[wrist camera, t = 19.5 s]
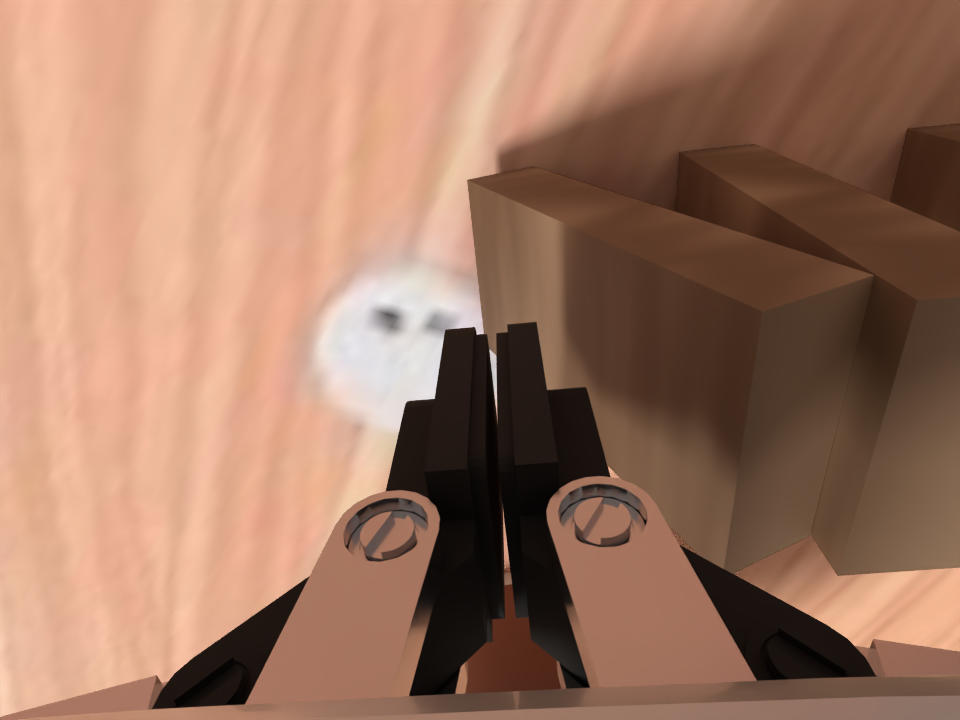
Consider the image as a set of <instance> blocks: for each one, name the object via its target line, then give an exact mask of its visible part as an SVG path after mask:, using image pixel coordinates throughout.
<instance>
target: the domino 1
mask: <svg viewBox="0 0 960 720" xmlns="http://www.w3.org/2000/svg"><path fill="white" fill-rule="evenodd" d="M467 182H468V191H469V200H470V210H471V219H472V228H473V237H474V246H475V255H476V264H477V274H478V283H479V292H480V301H481V310H482V319H483V328H484V334H487V336H488V344H489V349H490V350H491V351H493V352H494V353H495V354H496V355H497V353H496V333H503V332H508V330H507V324H517V323H528V322H537V328H538V334H539V341H540V347H541V354H542V360H543V366H544V373H545V379H546V386H547V390H553V389H565V388H578V387H586V388H587V391H588V394H589V398H590V402H591V406H592V409H593V413H594V417H595V421H596V424H597V428H598V432H599V436H600V440H601V443H602V447H603V451H604V455H605V458H606V462H607V465H608V466H609V467H610V468H611V469H612V470H613V471H614V472H615V473H616V474H617V475H618V476H619V477H620V478H621V479H622V480H624V481H627V482H630V483H632V484H635V485H636V486H638V487H639V488H641V489H642V490H644V491H645V492H647V494H648V495H649V496H650V497H651V498H652V500H653V501H654V502H655V503H656V505H657V506H658V508H659V510H660V512H661V513H662V515H663V517H664V519H665V520H666V522H667V524H668V526H669V527H670V528H671V529H672V530H673V531H674V532H675V533H676V534H677V535H678V536H680V537H681V538H682V539H683V540H684V541H685V542H686V543H687V544H688V545H689V546H690V547H691V548H692V549H693V550H694V551H695V552H696V553H697V554H698V555H699V556H701V557H703V558H704V559H706V560H708V561H710V562H712V563H714V564H716V565H717V566H719V567H721V568H723V569H725V570H727V571H728V572H730V573H732V574H733V573H735V572H737V571H739V570H741V569H743V568H745V567H747V566H749V565H751V564H753V563H755V562H758V561H760V560H762V559H764V558H766V557H768V556H770V555H772V554H774V553H776V552H778V551H780V550H782V549H784V548H786V547H788V546H790V545H792V544H794V543H796V542H798V541H800V540H802V539H804V538H806V537H808V536H810V534H811V530H812V526H813V522H814V518H815V514H816V510H817V506H818V502H819V498H820V494H821V490H822V486H823V482H824V478H825V473H826V469H827V465H828V461H829V457H830V453H831V449H832V445H833V441H834V437H835V433H836V429H837V425H838V421H839V417H840V413H841V408H842V404H843V400H844V396H845V392H846V388H847V384H848V380H849V376H850V372H851V368H852V364H853V360H854V356H855V352H856V348H857V343H858V339H859V335H860V331H861V327H862V323H863V319H864V315H865V311H866V307H867V303H868V299H869V295H870V291H871V287H872V283H873V278H874V275H872V274H869V273H866V272H863V271H860V270H857V269H854V268H850V267H847V266H844V265H841V264H838V263H835V262H832V261H828V260H825V259H822V258H819V257H816V256H813V255H810V254H806V253H803V252H800V251H797V250H794V249H791V248H788V247H784V246H781V245H778V244H775V243H772V242H769V241H766V240H762V239H759V238H756V237H753V236H750V235H747V234H744V233H740V232H737V231H734V230H731V229H728V228H725V227H722V226H718V225H715V224H712V223H709V222H706V221H703V220H700V219H696V218H693V217H690V216H687V215H684V214H681V213H678V212H674V211H671V210H668V209H665V208H662V207H659V206H656V205H653V204H649V203H646V202H643V201H640V200H637V199H634V198H631V197H627V196H624V195H621V194H618V193H615V192H612V191H609V190H605V189H602V188H599V187H596V186H593V185H590V184H587V183H583V182H580V181H577V180H574V179H571V178H568V177H565V176H561V175H558V174H555V173H552V172H549V171H546V170H543V169H539V168H536V167H529V168H524V169H519V170H514V171H509V172H504V173H499V174H494V175H489V176H484V177H479V178H474V179H469V180H467Z"/></svg>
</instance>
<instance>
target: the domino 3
mask: <svg viewBox="0 0 960 720" xmlns="http://www.w3.org/2000/svg"><path fill="white" fill-rule="evenodd" d="M890 202H891V203H893V204H896V205H898V206H900V207H903V208H905V209H908V210H910V211H912V212H915V213H917V214H919V215H922V216H924V217H926V218H929V219H931V220H933V221H936V222H938V223H940V224H943V225H945V226H947V227H950V228H952V229H955V230H957V231H959V232H960V124H951V125H941V126H931V127H921V128H911V129H908V131H907V135H906V139H905V143H904V147H903V151H902V156H901V160H900V164H899V168H898V172H897V176H896V180H895V184H894V189H893V193H892V197H891V201H890Z"/></svg>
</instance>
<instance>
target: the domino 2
mask: <svg viewBox="0 0 960 720" xmlns="http://www.w3.org/2000/svg"><path fill="white" fill-rule="evenodd" d="M676 212H678V213H681V214H684V215H687V216H690V217H693V218H696V219H700V220H703V221H706V222H709V223H712V224H715V225H718V226H722V227H725V228H728V229H731V230H734V231H737V232H740V233H744V234H747V235H750V236H753V237H756V238H759V239H762V240H766V241H769V242H772V243H775V244H778V245H781V246H784V247H788V248H791V249H794V250H797V251H800V252H803V253H806V254H810V255H813V256H816V257H819V258H822V259H825V260H828V261H832V262H835V263H838V264H841V265H844V266H847V267H850V268H854V269H857V270H860V271H863V272H866V273H869V274H872V275H874V278H873V283H872V287H871V291H870V295H869V299H868V303H867V307H866V311H865V315H864V319H863V323H862V327H861V331H860V335H859V339H858V343H857V348H856V352H855V356H854V360H853V364H852V368H851V372H850V376H849V380H848V384H847V388H846V392H845V396H844V400H843V404H842V408H841V413H840V417H839V421H838V425H837V429H836V433H835V437H834V441H833V445H832V449H831V453H830V457H829V461H828V465H827V469H826V473H825V478H824V482H823V486H822V490H821V494H820V498H819V502H818V506H817V510H816V514H815V518H814V522H813V526H812V530H811V536H812V537H813V539H814V540H815V542H816V543H817V545H818V546H819V548H820V549H821V551H822V552H823V554H824V556H825V557H826V559H827V560H828V562H829V563H830V565H831V566H832V568H833V569H834V571H835V572H836V574H837V575H838V576H840V575H855V574H870V573H885V572H899V571H914V570H929V569H944V568H959V567H960V232H959V231H957V230H955V229H952V228H950V227H947V226H945V225H943V224H940V223H938V222H936V221H933V220H931V219H929V218H926V217H924V216H922V215H919V214H917V213H915V212H912V211H910V210H908V209H905V208H903V207H900V206H898V205H896V204H893V203H891V202H889V201H886V200H884V199H882V198H879V197H877V196H875V195H872V194H870V193H868V192H865V191H863V190H861V189H858V188H856V187H854V186H851V185H849V184H846V183H844V182H842V181H839V180H837V179H835V178H832V177H830V176H828V175H825V174H823V173H821V172H818V171H816V170H814V169H811V168H809V167H807V166H804V165H802V164H799V163H797V162H795V161H792V160H790V159H788V158H785V157H783V156H781V155H778V154H776V153H774V152H771V151H769V150H767V149H764V148H762V147H760V146H757V145H755V144H752V145H742V146H733V147H723V148H713V149H704V150H694V151H685V152H680V153H679V169H678V185H677V200H676Z"/></svg>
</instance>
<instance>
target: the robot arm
mask: <svg viewBox="0 0 960 720" xmlns="http://www.w3.org/2000/svg"><path fill="white" fill-rule="evenodd" d="M507 330H508V332H503V333H496V353H497V410H498V424H497V415H496V406H495V398H494V389H493V380H492V371H491V362H490V353H489V344H488V336H487V334H480V335H476V329H475V327H472V328H460V329H449V330H445V335H444V341H443V348H442V355H441V361H440V368H439V375H438V381H437V388H436V395H435V399H429V400H416V401H408V402H406V405H405V408H404V413H403V417H402V422H401V426H400V431H399V435H398V439H397V444H396V448H395V453H394V457H393V462H392V466H391V470H390V475H389V479H388V484H387V488H386V491H385V492H382V493H378V494H375V495H371V496H369V497H367V498H365V499H363V500H361V501H359V502H357V503H356V504H354V505H353V506H352V507H351V508H350V509H348V510H347V511H346V512H345V513H344V514H343V515H342V517H341V518H340V519H339V521H338V522H337V524H336V525H335V527H334V529H333V531H332V533H331V535H330V537H329V539H328V541H327V543H326V545H325V547H324V549H323V551H322V553H321V555H320V557H319V559H318V561H317V563H316V565H315V567H314V569H313V571H312V573H311V575H310V576H309V577H308V578H306V579H305V580H303V581H302V582H301V583H299V584H298V585H296V586H295V587H293V588H292V589H291V590H289V591H288V592H286V593H285V594H284V595H282V596H281V597H279V598H278V599H276V600H275V601H274V602H272V603H271V604H269V605H268V606H266V607H265V608H264V609H262V610H261V611H259V612H258V613H257V614H255V615H254V616H252V617H251V618H249V619H248V620H247V621H245V622H244V623H242V624H241V625H239V626H238V627H237V628H235V629H234V630H232V631H231V632H229V633H228V634H227V635H225V636H224V637H222V638H221V639H220V640H218V641H217V642H215V643H214V644H212V645H211V646H210V647H208V648H207V649H205V650H204V651H202V652H201V653H200V654H198V655H197V656H195V657H194V658H192V659H191V660H190V661H189V662H188V663H187V664H185V665H184V666H183V667H182V668H181V669H180V670H178V671H177V672H176V673H175V674H174V675H173V677H172V678H171V679H170V680H169V682H165V683H161V681H160V680H159V678H158V676H157V675H156V676H152V677H148V678H145V679H141V680H137V681H133V682H130V683H126V684H122V685H118V686H115V687H111V688H107V689H103V690H100V691H96V692H92V693H88V694H85V695H81V696H77V697H73V698H69V699H66V700H62V701H58V702H54V703H51V704H47V705H43V706H39V707H36V708H32V709H28V710H24V711H21V712H17V713H13V714H9V715H6V716H2V717H0V720H960V652H958V651H951V650H944V649H937V648H930V647H924V646H917V645H910V644H903V643H896V642H890V641H883V640H876V639H873V641H872V644H871V646H870V648H865V647H858V646H854V645H853V644H852V643H851V642H850V641H849V640H848V639H847V638H845V637H844V636H842V635H841V634H839V633H838V632H836V631H835V630H833V629H832V628H831V627H829V626H828V625H826V624H824V623H822V622H820V621H818V620H817V619H815V618H813V617H811V616H809V615H807V614H806V613H804V612H802V611H800V610H798V609H796V608H795V607H793V606H791V605H789V604H787V603H785V602H784V601H782V600H780V599H778V598H776V597H774V596H772V595H771V594H769V593H767V592H765V591H763V590H761V589H760V588H758V587H756V586H754V585H752V584H750V583H749V582H747V581H745V580H743V579H741V578H739V577H738V576H736V575H734V574H732V573H730V572H728V571H727V570H725V569H723V568H721V567H719V566H717V565H716V564H714V563H712V562H710V561H708V560H706V559H704V558H703V557H701V556H699V555H697V554H695V553H693V552H692V551H690V550H688V549H686V548H684V547H682V546H681V545H679V543H678V542H677V540H676V538H675V536H674V535H673V533H672V531H671V529H670V527H669V526H668V524H667V522H666V520H665V519H664V517H663V515H662V513H661V512H660V510H659V508H658V506H657V505H656V503H655V502H654V501H653V500H652V498H651V497H650V496H649V495H648V494H647V492H645V491H644V490H642V489H641V488H639V487H638V486H636V485H635V484H632V483H630V482H627V481H624V480H622V479H619V478H612V477H610V473H609V470H608V466H607V462H606V458H605V455H604V451H603V447H602V443H601V440H600V436H599V432H598V428H597V424H596V421H595V417H594V413H593V409H592V406H591V402H590V398H589V394H588V391H587V388H586V387H578V388H565V389H553V390H547V386H546V379H545V373H544V366H543V360H542V354H541V347H540V341H539V334H538V328H537V322H528V323H517V324H507ZM503 511H504V519H505V528H506V536H507V545H508V554H509V562H510V571H511V579H512V588H513V597H514V605H515V614H516V618H528V617H529V626H530V636H531V640H532V641H533V642H535V643H536V644H537V645H538V646H540V647H541V648H542V649H543V650H544V651H546V652H547V653H548V654H549V655H551V656H552V657H553V658H554V659H556V660H557V671H558V677H559V681H560V685H561V689H552V690H531V691H509V692H487V693H466V694H465V691H466V685H467V680H468V663H467V660H468V659H469V658H471V657H472V656H473V655H474V654H475V653H476V652H477V651H478V650H479V649H480V648H481V647H482V646H483V645H484V644H485V643H486V642H493V619H505V581H504V541H503Z"/></svg>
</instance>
